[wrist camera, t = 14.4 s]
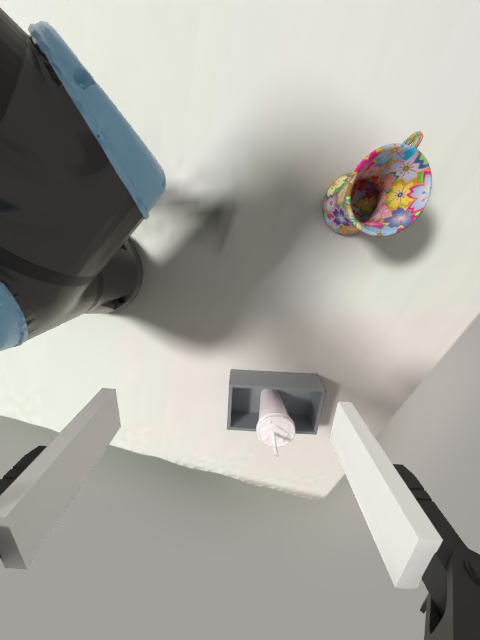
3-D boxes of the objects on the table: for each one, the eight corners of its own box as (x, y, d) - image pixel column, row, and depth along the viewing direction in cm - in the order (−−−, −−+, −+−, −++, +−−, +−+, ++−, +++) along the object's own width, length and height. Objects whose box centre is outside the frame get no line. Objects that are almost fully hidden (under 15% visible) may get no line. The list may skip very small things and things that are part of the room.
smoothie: (257, 378, 46) (263, 435, 32) (289, 384, 46) (307, 442, 33) (251, 405, 48) (253, 468, 34) (281, 410, 48) (295, 475, 35)
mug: (353, 248, 38) (393, 251, 28) (306, 218, 37) (330, 210, 27) (404, 174, 34) (470, 147, 24) (353, 138, 33) (402, 94, 23)
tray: (228, 411, 49) (227, 429, 44) (230, 369, 46) (229, 384, 41) (309, 415, 49) (316, 434, 44) (317, 374, 46) (325, 389, 41)
